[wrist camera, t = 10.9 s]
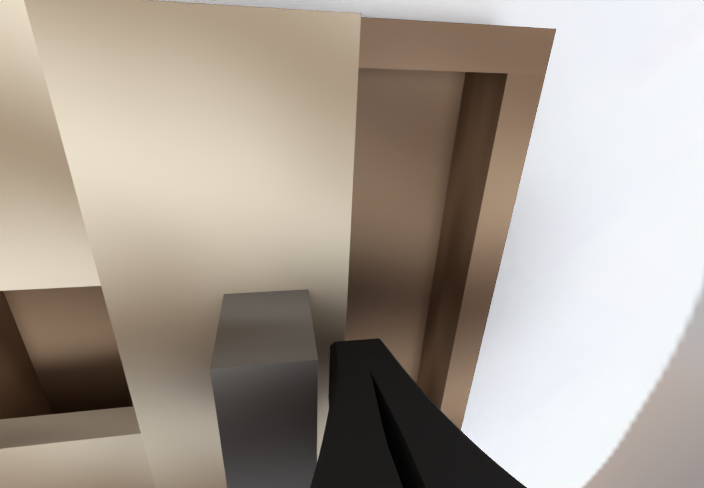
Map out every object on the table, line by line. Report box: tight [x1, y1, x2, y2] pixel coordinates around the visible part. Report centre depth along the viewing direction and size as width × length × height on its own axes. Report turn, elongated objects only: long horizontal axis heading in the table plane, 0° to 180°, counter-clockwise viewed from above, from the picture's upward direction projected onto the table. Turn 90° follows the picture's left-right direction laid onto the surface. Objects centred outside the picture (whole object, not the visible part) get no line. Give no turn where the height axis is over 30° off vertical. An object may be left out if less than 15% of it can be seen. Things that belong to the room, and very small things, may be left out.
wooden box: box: [0, 17, 556, 430], centre depth 13 cm, size 16×16×3 cm
